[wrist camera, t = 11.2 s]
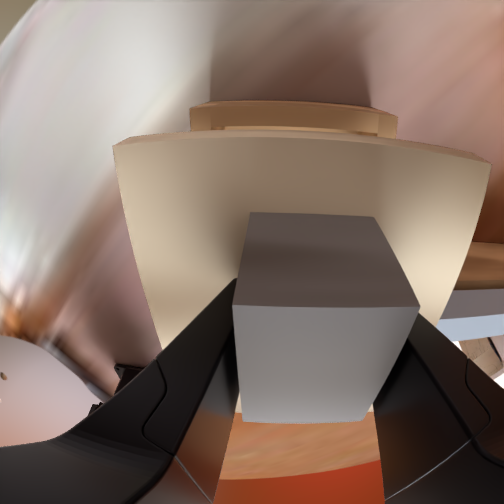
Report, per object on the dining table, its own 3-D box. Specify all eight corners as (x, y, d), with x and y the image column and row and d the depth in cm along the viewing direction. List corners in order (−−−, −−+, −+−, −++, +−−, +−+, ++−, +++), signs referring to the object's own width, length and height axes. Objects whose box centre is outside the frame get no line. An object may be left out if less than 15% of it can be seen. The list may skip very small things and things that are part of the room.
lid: (381, 382, 13) (396, 468, 9) (191, 378, 14) (170, 466, 10) (461, 146, 7) (571, 222, 3) (140, 131, 8) (25, 199, 4)
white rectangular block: (427, 319, 25) (460, 399, 17) (473, 287, 23) (518, 361, 15) (466, 387, 32) (484, 441, 24) (497, 367, 29) (519, 419, 21)
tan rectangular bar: (516, 269, 21) (543, 304, 17) (392, 269, 22) (413, 314, 18) (526, 245, 20) (556, 278, 15) (400, 237, 21) (426, 280, 16)
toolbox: (350, 269, 23) (362, 308, 19) (219, 265, 23) (208, 304, 19) (371, 107, 16) (397, 116, 12) (209, 101, 17) (189, 108, 13)
